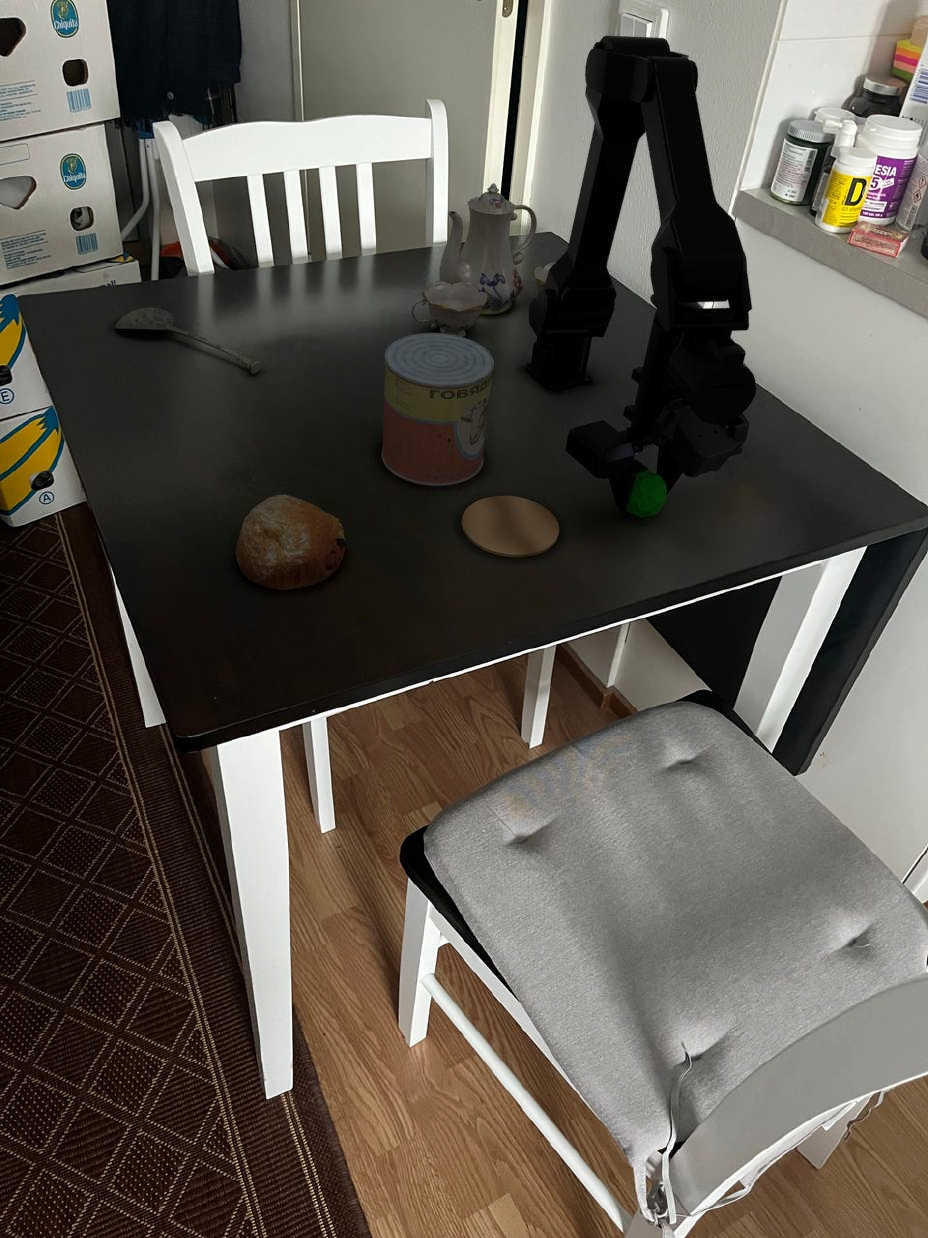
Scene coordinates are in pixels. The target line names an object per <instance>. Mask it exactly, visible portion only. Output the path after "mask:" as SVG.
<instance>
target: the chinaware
mask: <svg viewBox="0 0 928 1238" xmlns="http://www.w3.org/2000/svg"><path fill="white" fill-rule="evenodd" d="M499 191H500V189H499V188H498V186H497V184H496V183H494V182H493V183H491V184H490V186H489V187H488V188H487V191H485V192H483V193H482V194H480V196H475V197H474V198H470V199H469V200H468V201H467V202H466V203H467V207H468V211H469V224H468V231H467V235H466V238H465V242H464V245H463V247H462V242H463V241H462V239H463V233H464V232H463V231H464V223H463V219H462V217H461V215H460V214H459V213H458V212H457V211H454V210H449V211H448V212H447V214H448V216H449V217H450V218H451V221H452V225H451V230H450V233H449V237H448V239H447V242H446V245H445V248H444V250H443V252H442V256H441V259H440V265H439V280H435V281H434V282H432V283H431V284H430V285H429V287H428V288H427V289H426V290H422V293H421V298H420V299H417V300H416V301H414V303H413V304H412V306H411V316H412V318H413V319H414V321H416V322H418V323H420V324H421V323H422V324H423V323H427V322H432V323H431V324H430V328H431V329H436V328H437V327H439V330H440V332H439V333H443V334H451V335H456V336H460V337H465V336H467V335H466V330H467V329H470V328H471V327H473V325H475V323H476V322H477V320H478V319H479V317H480V316H495V315H500V314H501V315H502V314H503V313H506V312H508V311H509V310H511V308H512V305H513V301H514V300H515V299H516V298H517V297H518V296H519V295H520V294H521V293H522V292H523V289H524V283H523V280H522V278H521V276H520V274H519V272H518V270H517V267H516V266H517V265H519V264H522V262H523V261H524V259H525V254H524V253H523V252H522V251H523V250H525V249H526V248H527V247H528V246H529V245H530V244H531V243H532V241H533V239H534V237H535V235H536V231H537V226H538V221H537V216H536V213H535V211H534V210H533V209H532V208H531V207H529V206H528V205H526V204H514V203H513V202H512V201H510V200H507V199H505V196H504V195H502V193H500V192H499ZM516 210H522V211H523V210H524V211H526V212H527V213H528V214H529V216H530V228H529V232H528V234H527V237H526V238H525V240H524V241H523V242H522V243H521V244H520V245H519V246H518V247H516V248H515V249H511V244H510V242H511V241H510V232H511V231H510V230H511V222H514V221H516V220H517V219H518V214H517V213H516V212H515V211H516ZM461 247H462V249H461ZM556 262H557V261H553V262H548V263H547V264H546V265H544V266H535V267H533V268H532V269H531V271H532V275H533V277H534V280H535V282H536V289H537V293H538V294H539V293H540V291H541V290H542V289H544V286H545V282H546V279H547V275H548V272H549V269H550V268H551V267H552V266H553V265H554V264H555V263H556ZM538 294H537V295H538ZM420 302H421V305H422V306H425V304H427V307H428V312H429V314H430V318H427V319H418V318H417V317H416V316H415V313H414V311H415V308H416V306H417V305H418V304H419V303H420Z"/></svg>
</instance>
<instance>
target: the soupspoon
mask: <svg viewBox="0 0 928 1238" xmlns="http://www.w3.org/2000/svg"><path fill="white" fill-rule="evenodd" d="M174 321H175V320H174V317H173V315H172V313H170V312H169V311H167V310H164V309H163V308H162V309H161V308H158V307H142V308H138V309H135V310H132V311H130V312H127V313H126V314H125V315H123V316H122V317H121V318H120V319H119V320H118V321H117V322H116V323H115V326H114V329H117V330H154V331H155V330H156V331H168V332H171V333H175V334H177V335H181V336H184V337H187V338H190V339H192V340H194V341H198V342H200V343H202V344H204V345H206V346H209V347H212V348H214V349H216V350H219V351H220V352H223V353H225V354H227V355H229V356H232V357H233V358H235V360H236V362H237V361H240V362H241V364H242V365H244V366H245V367H247V369H248V370H249V371H250V374H251V375H255V374H257V373H259V371H260V370H261V368H262V363H261V362H260V361H258V360H257V361H254V360H251V359H250V358H248V357H246V356H243V354H242V353H237V352H235V351H234V350H232V349H229V348H227V347H225V346H223V345H221V344H219V343H217V342H214V341H212V340H209V339H207V338H205V337H203V336H200V335H198V334H195V333H193V332H191V331H188V330H185V329H182V328H179V327H176V326H174Z"/></svg>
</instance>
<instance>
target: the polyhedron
mask: <svg viewBox="0 0 928 1238" xmlns="http://www.w3.org/2000/svg"><path fill="white" fill-rule="evenodd" d="M666 493H667V487H666V484H665V482H664V480H663V479H662V477H661V476H659V475H657V474H656V472H653V471H650V470H649V469H648V470H647V471H644V472H642V473H639V474H637V476H636V479H635V483H634V486H633V490H632V493H631V497H630V500H629V503H628V505H627V507H626V510H625V511H624V512H627V513H629V514H632V515H634V516H635V517H638V518H641V519H644V518H648V517H651V516H652V517H653V516H654V515H656V514H658V513H659V512H660V511H661V510H662V509H663V508H664V506H665V505H666V500H667V496H666Z"/></svg>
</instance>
